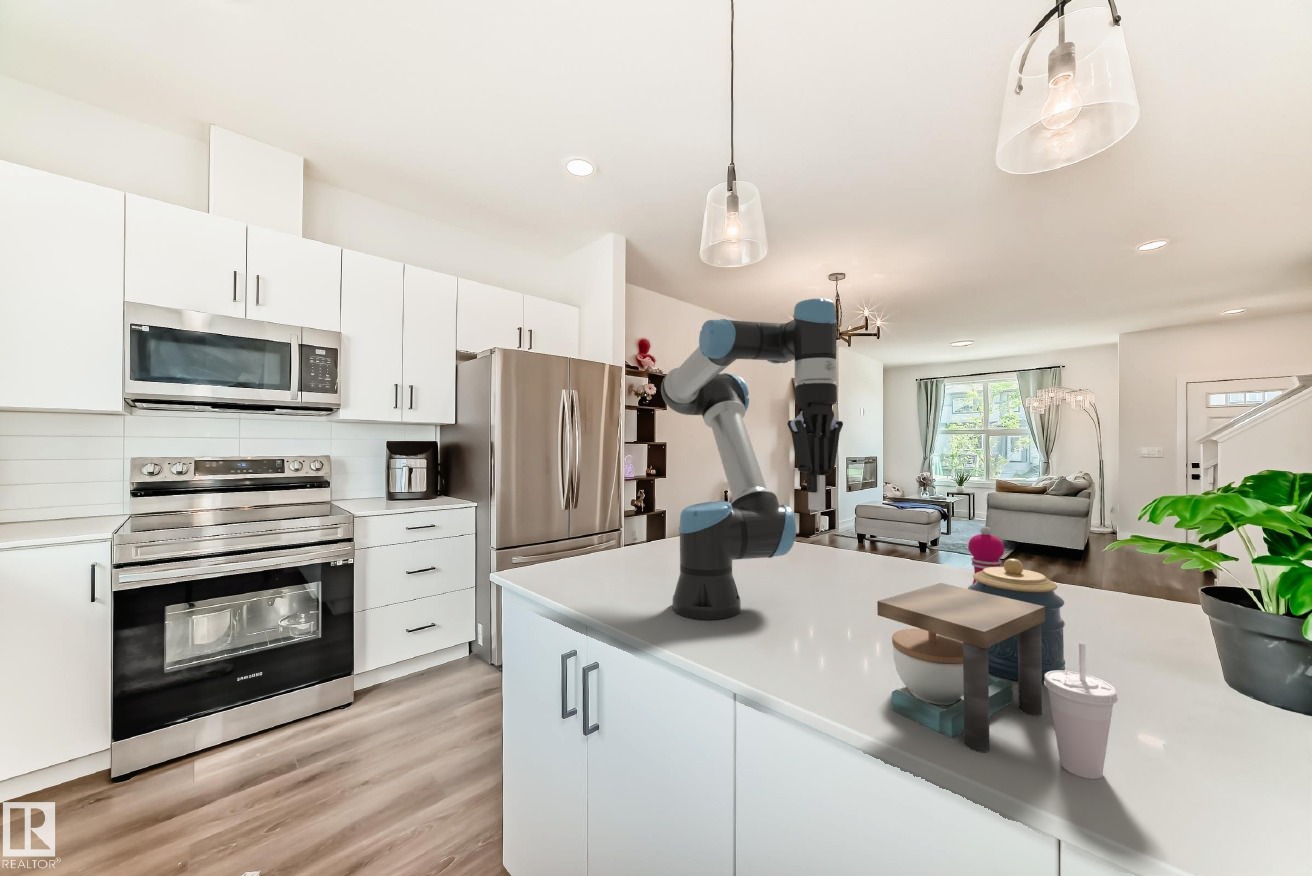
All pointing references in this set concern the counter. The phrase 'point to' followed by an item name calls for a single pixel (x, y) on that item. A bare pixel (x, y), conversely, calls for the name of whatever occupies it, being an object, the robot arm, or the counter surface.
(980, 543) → the pepper mill
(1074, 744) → the smoothie
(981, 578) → the canister
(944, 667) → the lidded jar
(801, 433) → the robot arm
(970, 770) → the counter surface
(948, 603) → the overhang shelf
